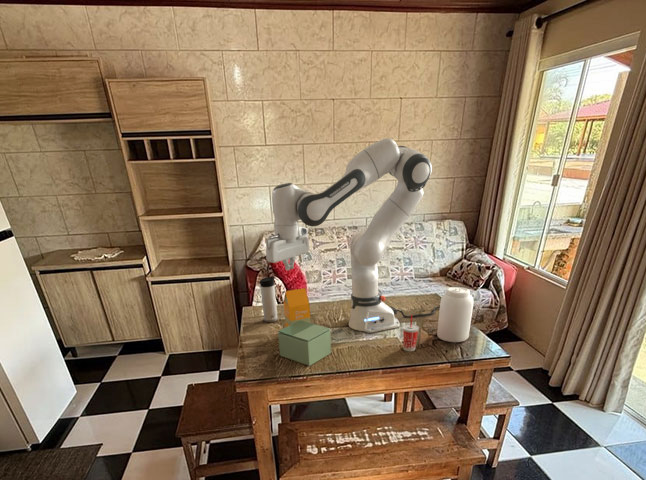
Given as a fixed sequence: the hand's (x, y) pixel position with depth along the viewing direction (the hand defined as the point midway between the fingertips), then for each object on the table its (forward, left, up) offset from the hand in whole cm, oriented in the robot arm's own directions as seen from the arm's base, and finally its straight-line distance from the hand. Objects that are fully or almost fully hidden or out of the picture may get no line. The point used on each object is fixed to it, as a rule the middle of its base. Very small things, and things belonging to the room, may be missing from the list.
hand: (289, 269), depth 157 cm
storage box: (-2, +16, -29) cm, 33 cm away
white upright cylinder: (-63, +16, -29) cm, 71 cm away
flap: (0, +13, -19) cm, 23 cm away
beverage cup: (-42, +22, -29) cm, 56 cm away
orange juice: (-2, -3, -29) cm, 30 cm away
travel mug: (+8, -24, -29) cm, 39 cm away
